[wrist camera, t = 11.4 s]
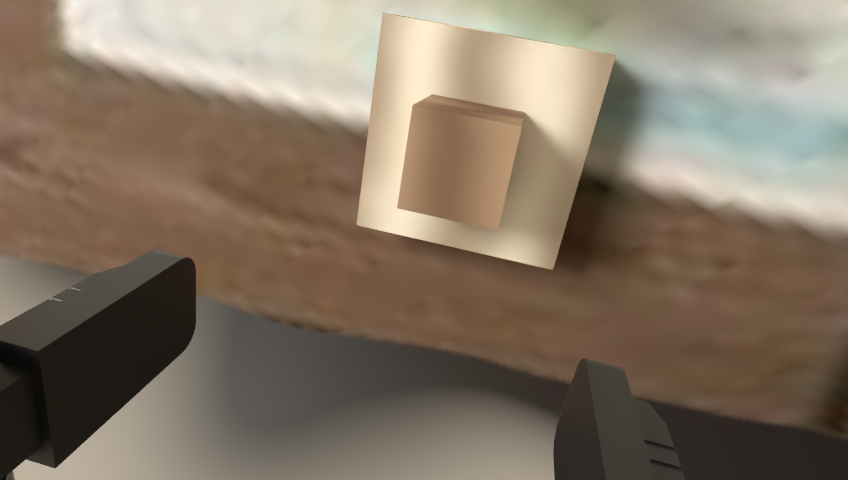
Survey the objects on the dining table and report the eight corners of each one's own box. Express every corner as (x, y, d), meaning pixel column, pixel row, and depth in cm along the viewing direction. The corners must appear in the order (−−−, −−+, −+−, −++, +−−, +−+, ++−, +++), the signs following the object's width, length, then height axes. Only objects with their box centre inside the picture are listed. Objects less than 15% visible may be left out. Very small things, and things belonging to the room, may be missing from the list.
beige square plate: (605, 52, 30) (615, 55, 26) (550, 244, 34) (552, 269, 31) (400, 15, 31) (382, 13, 27) (374, 205, 36) (356, 225, 32)
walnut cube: (524, 112, 28) (522, 126, 23) (503, 200, 30) (497, 230, 25) (432, 94, 28) (412, 104, 24) (417, 182, 30) (396, 208, 26)
